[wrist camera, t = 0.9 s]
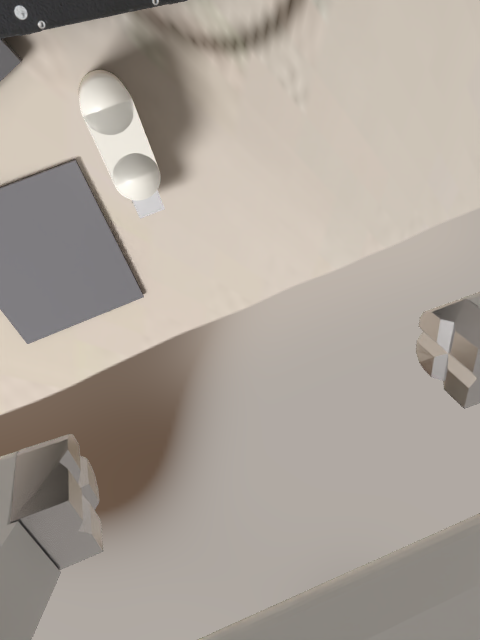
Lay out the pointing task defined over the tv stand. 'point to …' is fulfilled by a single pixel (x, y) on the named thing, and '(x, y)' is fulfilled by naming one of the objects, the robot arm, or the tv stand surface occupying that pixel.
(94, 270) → the mat
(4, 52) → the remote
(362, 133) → the tv stand surface
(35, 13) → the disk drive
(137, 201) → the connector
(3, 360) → the tv stand surface
